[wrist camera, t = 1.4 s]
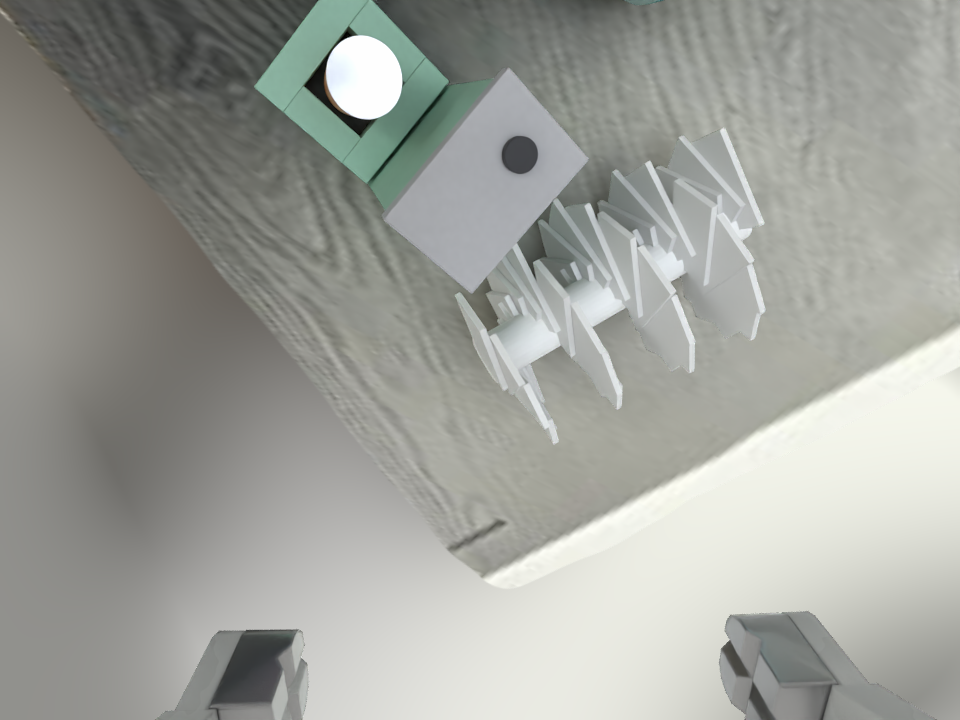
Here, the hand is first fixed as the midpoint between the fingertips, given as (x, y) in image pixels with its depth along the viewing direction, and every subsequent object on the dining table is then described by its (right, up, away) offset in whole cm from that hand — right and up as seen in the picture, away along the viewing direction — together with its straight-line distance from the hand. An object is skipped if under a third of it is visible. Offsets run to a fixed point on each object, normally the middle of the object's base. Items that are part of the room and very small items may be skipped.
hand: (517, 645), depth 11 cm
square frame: (-11, +27, +33) cm, 44 cm away
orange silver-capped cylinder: (-11, +27, +33) cm, 44 cm away
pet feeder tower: (-5, +22, +37) cm, 43 cm away
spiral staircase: (+8, +15, +44) cm, 47 cm away
